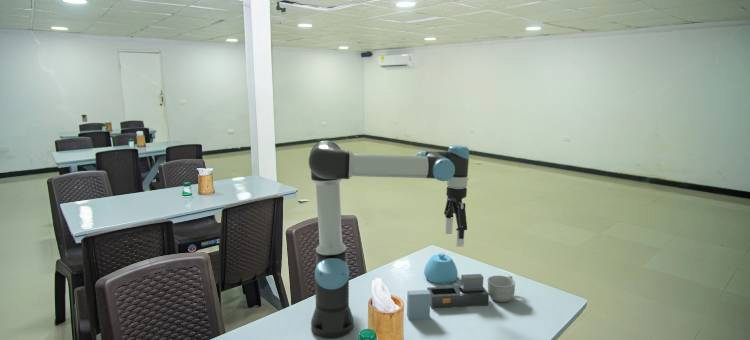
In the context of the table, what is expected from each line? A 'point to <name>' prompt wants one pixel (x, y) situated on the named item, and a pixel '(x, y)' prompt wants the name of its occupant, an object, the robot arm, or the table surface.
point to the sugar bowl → (440, 269)
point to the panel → (418, 304)
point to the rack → (460, 293)
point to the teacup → (501, 288)
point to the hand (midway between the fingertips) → (453, 239)
